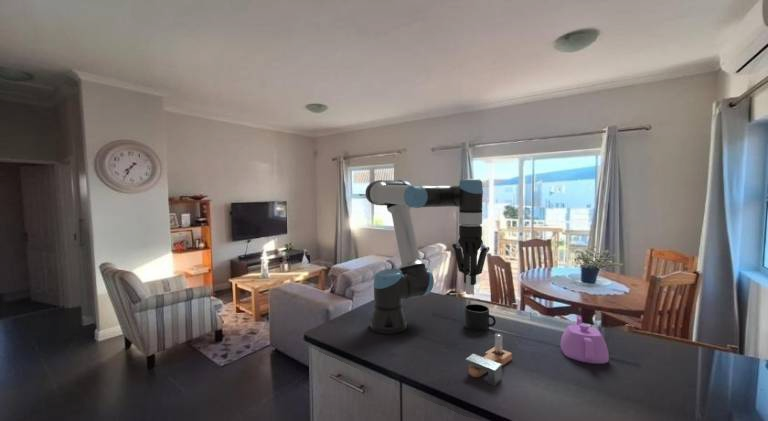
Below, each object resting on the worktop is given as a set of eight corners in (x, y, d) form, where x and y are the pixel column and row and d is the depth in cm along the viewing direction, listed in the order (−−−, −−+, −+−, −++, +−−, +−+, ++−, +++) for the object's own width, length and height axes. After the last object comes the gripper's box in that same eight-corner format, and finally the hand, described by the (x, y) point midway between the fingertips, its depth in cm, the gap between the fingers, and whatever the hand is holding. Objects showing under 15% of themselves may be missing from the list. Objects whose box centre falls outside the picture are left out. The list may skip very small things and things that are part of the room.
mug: (493, 338, 120) (493, 314, 119) (462, 332, 125) (462, 309, 125) (497, 329, 128) (497, 307, 128) (467, 323, 134) (467, 302, 133)
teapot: (599, 346, 112) (599, 316, 112) (616, 376, 94) (616, 340, 93) (556, 340, 117) (557, 311, 117) (564, 368, 99) (565, 333, 98)
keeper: (465, 374, 94) (465, 359, 94) (472, 368, 97) (472, 353, 97) (494, 386, 88) (494, 370, 87) (501, 379, 91) (501, 364, 91)
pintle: (493, 359, 102) (493, 335, 102) (496, 356, 104) (496, 333, 103) (500, 362, 100) (500, 337, 100) (503, 359, 102) (503, 335, 102)
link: (494, 352, 106) (495, 346, 106) (511, 359, 102) (511, 353, 101) (463, 371, 95) (463, 365, 95) (480, 380, 90) (480, 373, 90)
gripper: (493, 225, 105) (492, 295, 106) (459, 222, 114) (458, 287, 115) (483, 227, 99) (482, 300, 101) (447, 224, 108) (447, 291, 110)
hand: (469, 293), depth 108 cm, fingers closed
